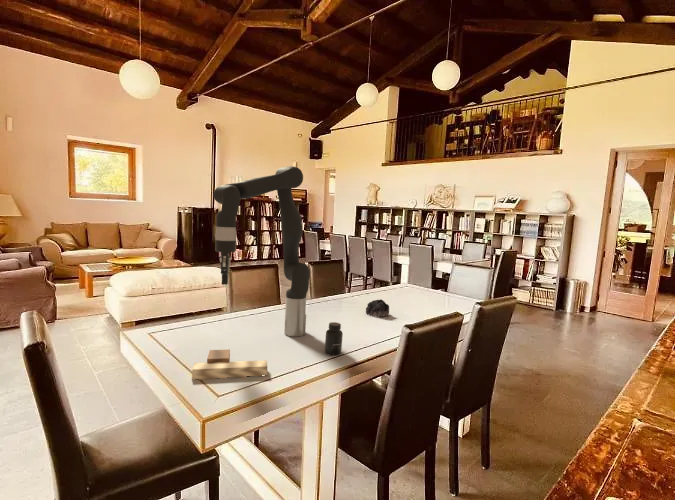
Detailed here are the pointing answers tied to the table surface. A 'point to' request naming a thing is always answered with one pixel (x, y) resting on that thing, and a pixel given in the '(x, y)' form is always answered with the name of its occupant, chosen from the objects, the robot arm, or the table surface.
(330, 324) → the supplement bottle
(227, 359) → the walnut block
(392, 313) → the table surface
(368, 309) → the black rock
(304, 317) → the robot arm
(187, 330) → the table surface
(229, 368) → the ash board
